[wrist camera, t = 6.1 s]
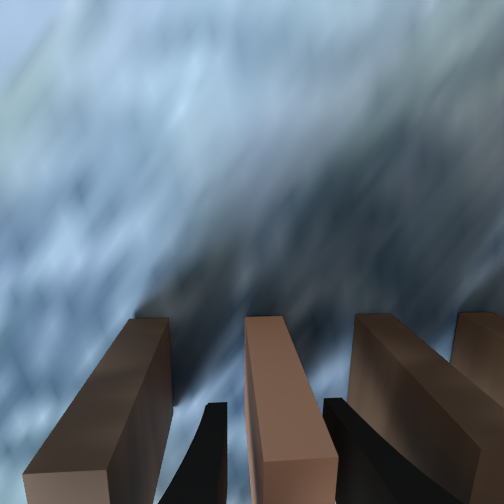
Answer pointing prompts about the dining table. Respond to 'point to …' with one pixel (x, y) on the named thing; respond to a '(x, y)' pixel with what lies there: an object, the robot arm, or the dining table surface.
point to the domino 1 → (111, 426)
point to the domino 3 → (481, 352)
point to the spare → (284, 422)
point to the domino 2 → (427, 409)
